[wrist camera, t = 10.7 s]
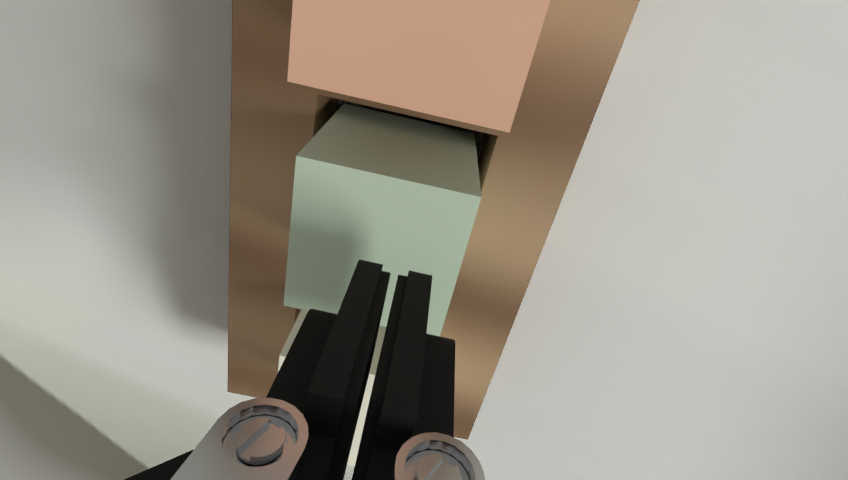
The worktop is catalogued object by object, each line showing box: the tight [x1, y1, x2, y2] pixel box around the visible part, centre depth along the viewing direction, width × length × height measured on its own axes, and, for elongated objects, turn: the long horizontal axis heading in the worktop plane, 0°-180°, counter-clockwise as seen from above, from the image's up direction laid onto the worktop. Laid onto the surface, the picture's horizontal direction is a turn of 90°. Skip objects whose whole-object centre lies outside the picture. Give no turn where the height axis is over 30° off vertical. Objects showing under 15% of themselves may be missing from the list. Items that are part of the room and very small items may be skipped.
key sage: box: [283, 104, 481, 336], centre depth 14 cm, size 4×4×5 cm
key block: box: [228, 0, 640, 440], centre depth 14 cm, size 26×10×3 cm, turn 168°
